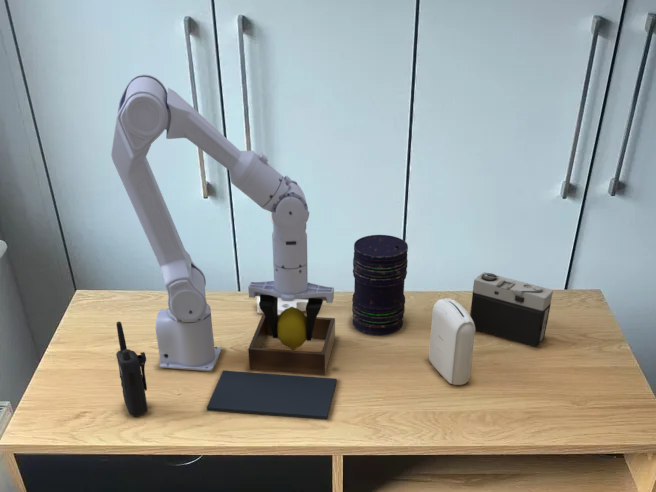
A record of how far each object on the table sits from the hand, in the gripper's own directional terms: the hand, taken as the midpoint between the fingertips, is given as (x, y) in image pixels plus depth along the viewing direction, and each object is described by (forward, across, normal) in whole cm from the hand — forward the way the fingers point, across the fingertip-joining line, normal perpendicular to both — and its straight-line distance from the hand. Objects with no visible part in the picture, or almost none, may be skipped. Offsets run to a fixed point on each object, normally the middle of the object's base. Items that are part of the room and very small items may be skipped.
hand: (292, 336), depth 153 cm
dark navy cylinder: (+3, +14, +14) cm, 20 cm away
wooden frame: (+3, 0, 0) cm, 3 cm away
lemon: (+3, 0, 0) cm, 3 cm away
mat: (+3, -1, -14) cm, 15 cm away
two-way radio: (+4, -22, -22) cm, 31 cm away
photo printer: (+3, +28, -2) cm, 28 cm away
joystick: (+3, -4, +16) cm, 16 cm away
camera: (+3, +39, +14) cm, 42 cm away
